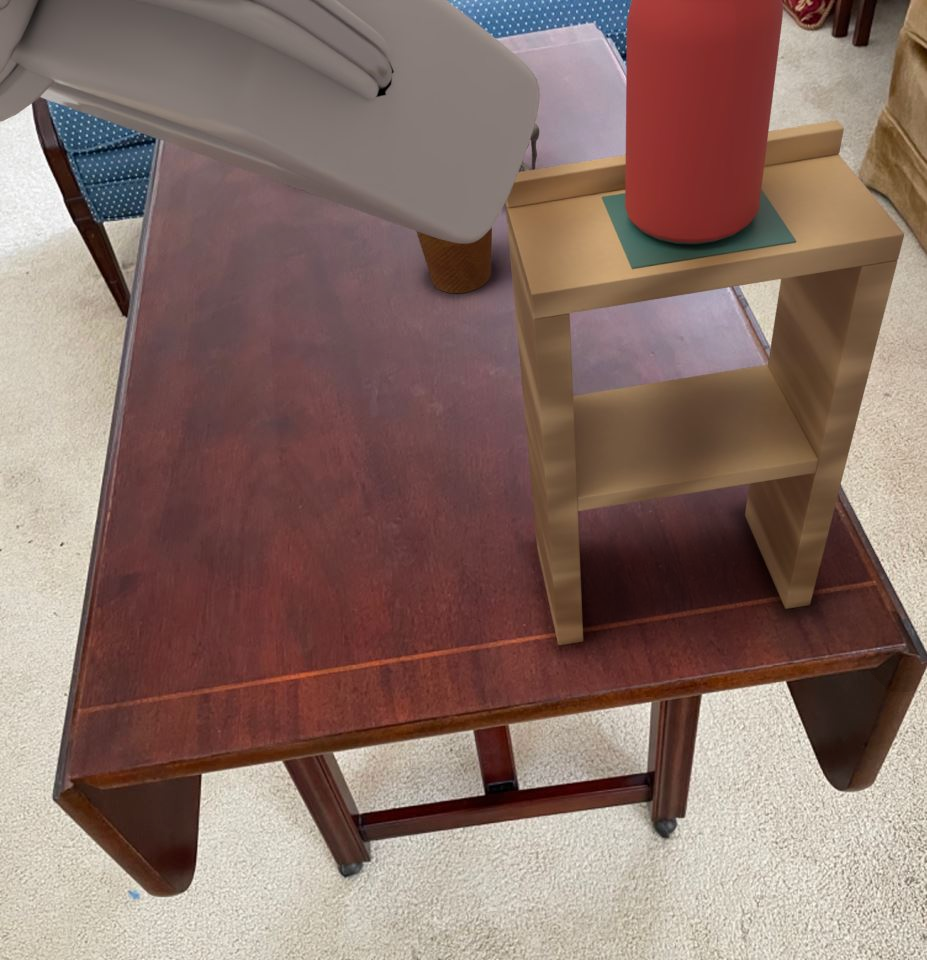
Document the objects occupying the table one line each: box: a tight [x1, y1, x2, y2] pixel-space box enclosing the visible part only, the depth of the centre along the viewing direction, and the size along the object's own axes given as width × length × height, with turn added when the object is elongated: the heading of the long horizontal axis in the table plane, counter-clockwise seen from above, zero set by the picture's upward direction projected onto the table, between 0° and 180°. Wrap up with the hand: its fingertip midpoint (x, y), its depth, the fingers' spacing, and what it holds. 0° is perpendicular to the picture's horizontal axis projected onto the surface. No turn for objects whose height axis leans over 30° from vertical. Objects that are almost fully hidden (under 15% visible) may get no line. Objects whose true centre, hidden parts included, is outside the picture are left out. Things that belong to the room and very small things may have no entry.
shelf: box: [504, 120, 905, 646], centre depth 58 cm, size 18×9×32 cm, turn 96°
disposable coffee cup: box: [415, 226, 493, 294], centre depth 95 cm, size 10×10×12 cm
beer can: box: [625, 0, 784, 245], centre depth 43 cm, size 7×7×12 cm
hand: (339, 151), depth 28 cm, fingers open, 8 cm apart
